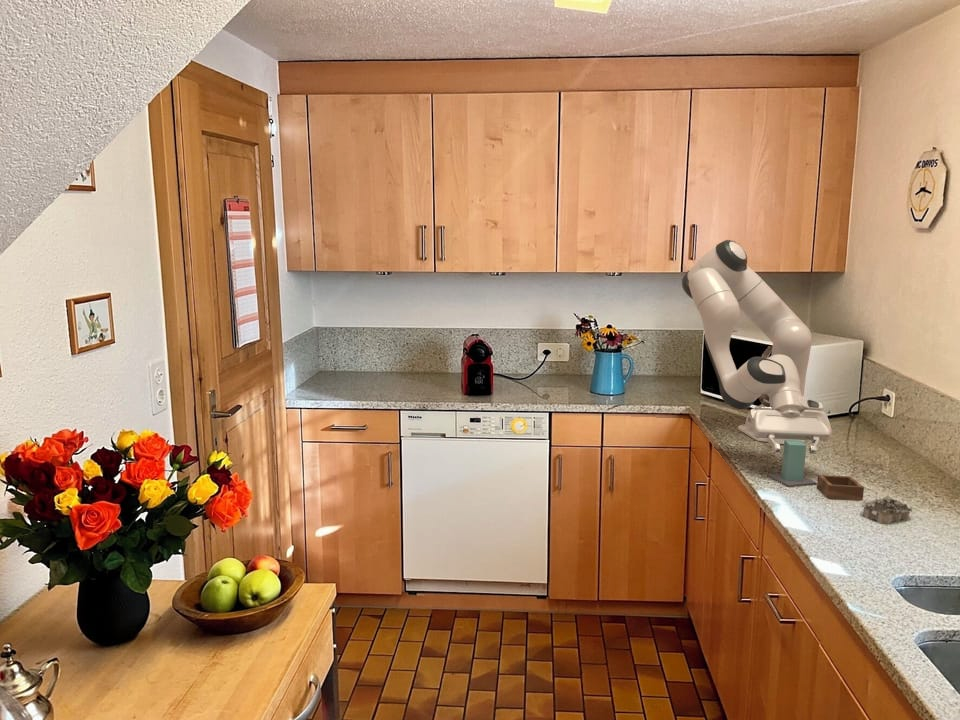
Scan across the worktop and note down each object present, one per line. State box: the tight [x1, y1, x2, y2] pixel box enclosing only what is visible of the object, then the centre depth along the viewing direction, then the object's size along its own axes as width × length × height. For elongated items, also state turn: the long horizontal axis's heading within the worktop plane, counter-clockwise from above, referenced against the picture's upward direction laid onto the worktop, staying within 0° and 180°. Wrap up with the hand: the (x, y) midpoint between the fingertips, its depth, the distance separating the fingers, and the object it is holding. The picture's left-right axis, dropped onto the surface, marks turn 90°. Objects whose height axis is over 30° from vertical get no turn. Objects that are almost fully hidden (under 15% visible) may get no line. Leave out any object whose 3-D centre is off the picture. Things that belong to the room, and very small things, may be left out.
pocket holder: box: [816, 474, 865, 501], centre depth 197 cm, size 8×8×4 cm
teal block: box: [780, 440, 807, 482], centre depth 206 cm, size 4×4×10 cm
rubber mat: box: [765, 472, 817, 488], centre depth 207 cm, size 9×9×1 cm
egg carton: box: [861, 495, 914, 525], centre depth 183 cm, size 11×8×4 cm
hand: (795, 452), depth 205 cm, fingers open, 8 cm apart
